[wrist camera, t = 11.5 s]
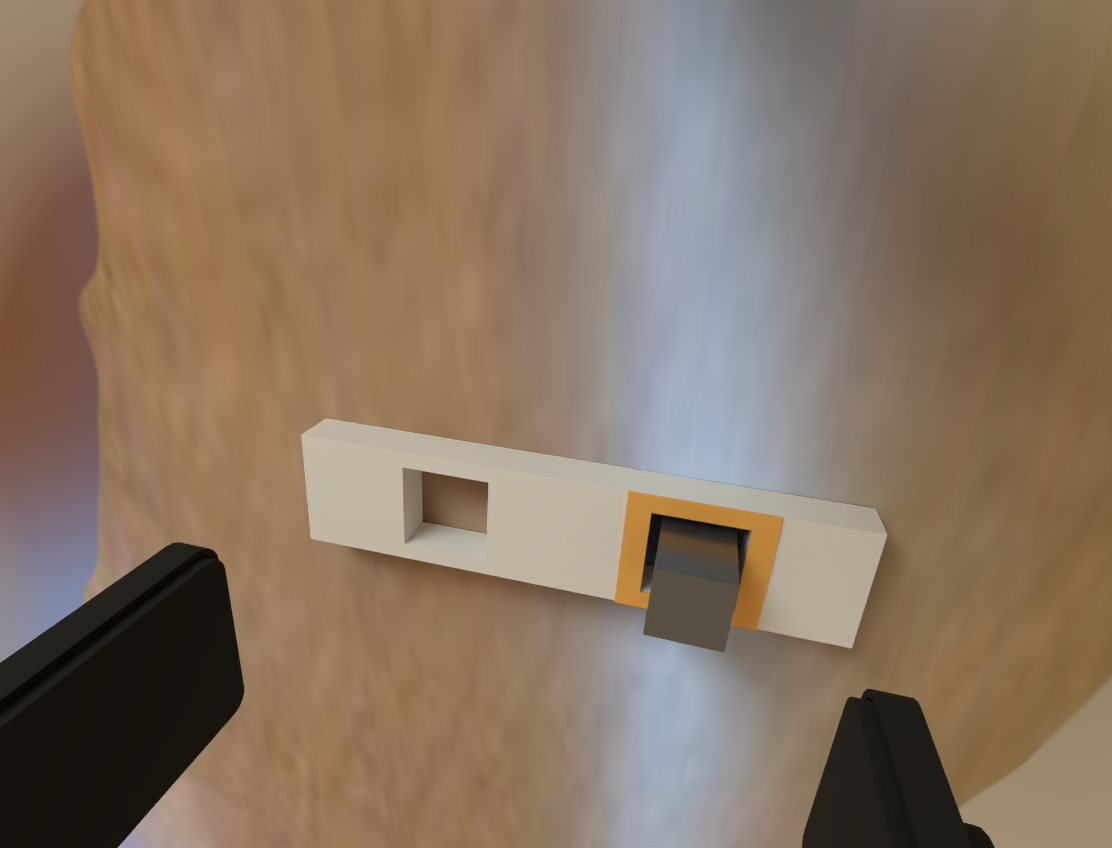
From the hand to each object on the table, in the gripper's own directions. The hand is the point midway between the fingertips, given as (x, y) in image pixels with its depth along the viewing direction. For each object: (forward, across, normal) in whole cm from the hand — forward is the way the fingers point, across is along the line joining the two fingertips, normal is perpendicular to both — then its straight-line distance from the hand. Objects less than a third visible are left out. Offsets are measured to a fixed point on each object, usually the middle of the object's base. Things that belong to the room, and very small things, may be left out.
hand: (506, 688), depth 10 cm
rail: (+30, +4, +15) cm, 34 cm away
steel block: (+30, -4, +15) cm, 34 cm away
